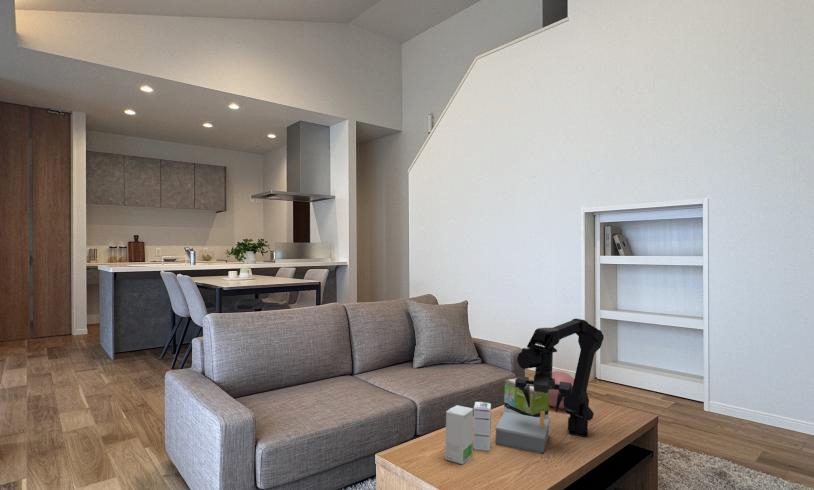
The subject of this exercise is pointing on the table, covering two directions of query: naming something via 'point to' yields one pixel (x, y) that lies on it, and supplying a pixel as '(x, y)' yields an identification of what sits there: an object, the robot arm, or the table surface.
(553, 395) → the balloon
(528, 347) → the robot arm
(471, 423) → the skincare box
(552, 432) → the table surface
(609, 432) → the table surface
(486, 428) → the syrup box
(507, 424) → the lid
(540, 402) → the tea box
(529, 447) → the grey flat block
